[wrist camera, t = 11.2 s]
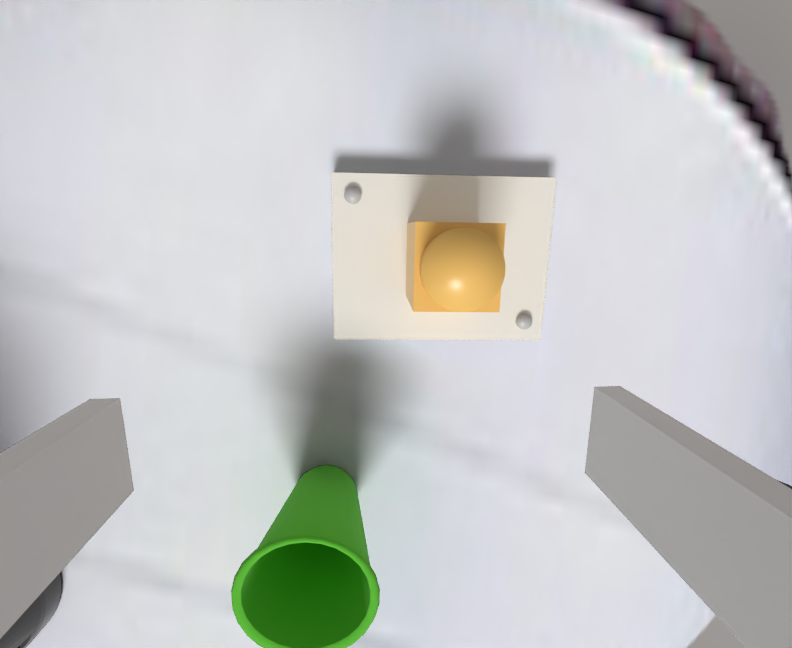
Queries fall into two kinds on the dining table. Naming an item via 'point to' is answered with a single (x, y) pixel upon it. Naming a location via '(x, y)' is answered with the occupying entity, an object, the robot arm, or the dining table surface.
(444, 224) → the ball on cube
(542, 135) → the dining table surface
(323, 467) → the cup
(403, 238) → the lid
